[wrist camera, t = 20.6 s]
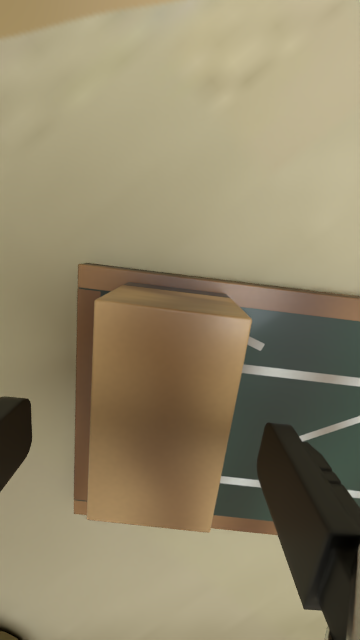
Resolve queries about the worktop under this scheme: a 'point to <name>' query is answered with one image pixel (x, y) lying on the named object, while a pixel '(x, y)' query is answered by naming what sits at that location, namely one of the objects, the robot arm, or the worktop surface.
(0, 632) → the squeeze bottle
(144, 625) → the worktop surface
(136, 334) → the eraser
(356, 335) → the chalkboard
